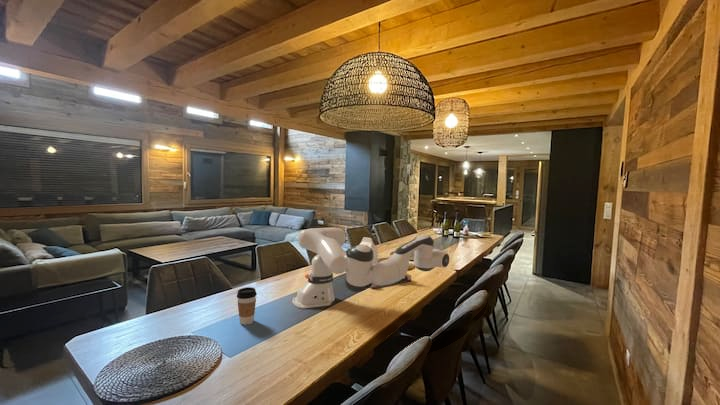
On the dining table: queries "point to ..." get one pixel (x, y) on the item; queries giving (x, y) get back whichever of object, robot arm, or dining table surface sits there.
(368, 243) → the milk
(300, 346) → the dining table surface
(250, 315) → the coffee cup
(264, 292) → the dining table surface
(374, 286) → the rail
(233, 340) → the dining table surface
